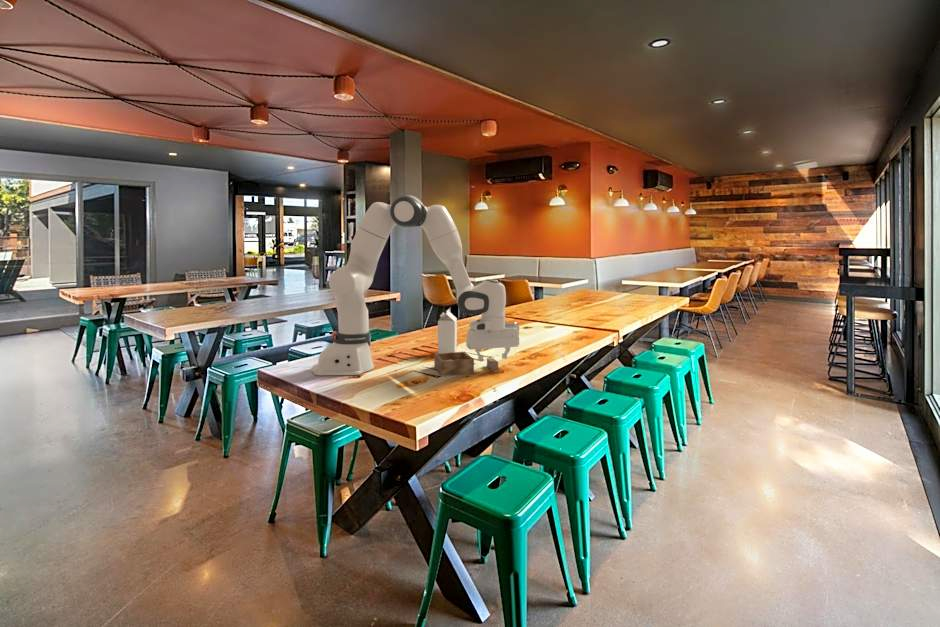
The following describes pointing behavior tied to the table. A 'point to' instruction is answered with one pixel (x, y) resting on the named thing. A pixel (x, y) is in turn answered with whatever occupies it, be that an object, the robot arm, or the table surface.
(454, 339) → the milk carton
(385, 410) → the table surface
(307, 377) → the table surface
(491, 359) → the lid
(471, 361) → the walnut box
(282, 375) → the table surface
